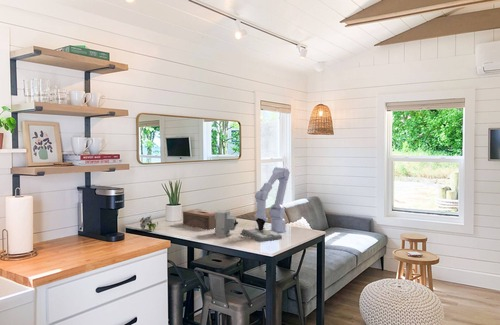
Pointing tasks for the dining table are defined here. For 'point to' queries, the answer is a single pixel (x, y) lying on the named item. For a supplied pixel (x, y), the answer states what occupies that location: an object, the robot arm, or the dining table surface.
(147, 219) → the passion flower
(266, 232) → the switch
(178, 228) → the dining table surface
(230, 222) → the circuit breaker
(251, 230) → the breaker panel
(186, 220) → the tissue box cover
